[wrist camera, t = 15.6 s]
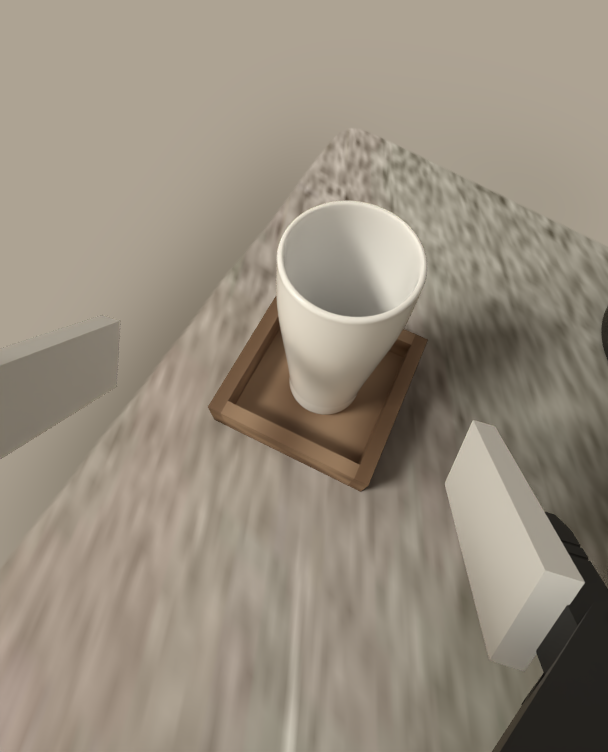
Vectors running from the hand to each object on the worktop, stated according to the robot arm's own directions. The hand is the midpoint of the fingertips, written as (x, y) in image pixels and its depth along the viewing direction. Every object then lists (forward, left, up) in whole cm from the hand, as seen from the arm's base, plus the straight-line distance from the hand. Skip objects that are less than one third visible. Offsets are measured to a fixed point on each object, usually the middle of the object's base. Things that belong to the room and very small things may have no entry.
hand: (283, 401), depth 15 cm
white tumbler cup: (+4, -6, -15) cm, 17 cm away
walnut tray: (+4, -6, -16) cm, 18 cm away
